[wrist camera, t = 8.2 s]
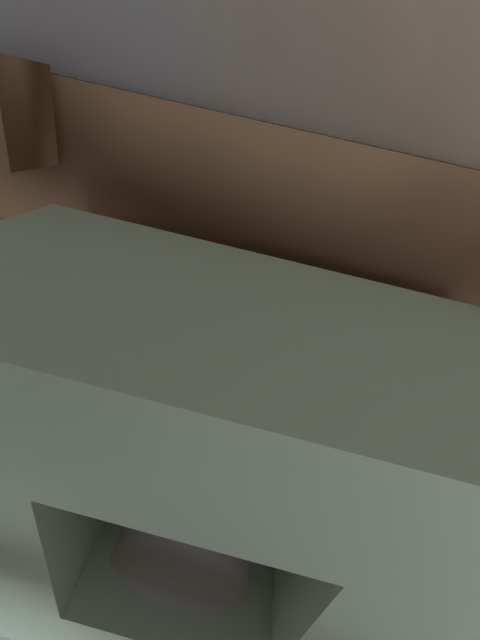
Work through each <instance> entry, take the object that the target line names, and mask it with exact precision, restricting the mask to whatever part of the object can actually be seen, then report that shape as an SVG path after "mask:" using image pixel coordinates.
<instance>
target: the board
mask: <svg viewBox="0 0 480 640" xmlns="http://www.w3.org/2000/svg"><path fill="white" fill-rule="evenodd" d="M52 204H56V205H61V206H65V207H69V208H73V209H77V210H81V211H85V212H90V213H94V214H98V215H102V216H106V217H110V218H114V219H119V220H123V221H127V222H131V223H135V224H139V225H143V226H148V227H152V228H156V229H160V230H164V231H168V232H172V233H177V234H181V235H185V236H189V237H193V238H197V239H202V240H206V241H210V242H214V243H218V244H222V245H226V246H231V247H235V248H239V249H243V250H247V251H251V252H255V253H260V254H264V255H268V256H272V257H276V258H280V259H284V260H289V261H293V262H297V263H301V264H305V265H309V266H314V267H318V268H322V269H326V270H330V271H334V272H338V273H343V274H347V275H351V276H355V277H359V278H363V279H367V280H372V281H376V282H380V283H384V284H388V285H392V286H396V287H401V288H405V289H409V290H413V291H417V292H421V293H425V294H430V295H434V296H438V297H442V298H446V299H450V300H455V301H459V302H463V303H467V304H471V305H475V306H479V307H480V170H477V169H472V168H468V167H463V166H459V165H455V164H450V163H446V162H441V161H437V160H432V159H428V158H424V157H419V156H415V155H410V154H406V153H401V152H397V151H393V150H388V149H384V148H379V147H375V146H370V145H366V144H362V143H357V142H353V141H348V140H344V139H339V138H335V137H330V136H326V135H322V134H317V133H313V132H308V131H304V130H299V129H295V128H291V127H286V126H282V125H277V124H273V123H268V122H264V121H260V120H255V119H251V118H246V117H242V116H237V115H233V114H229V113H224V112H220V111H215V110H211V109H206V108H202V107H198V106H193V105H189V104H184V103H180V102H175V101H171V100H167V99H162V98H158V97H153V96H149V95H144V94H140V93H136V92H131V91H127V90H122V89H118V88H113V87H109V86H105V85H100V84H96V83H91V82H87V81H82V80H78V79H74V78H69V77H65V76H60V75H56V74H51V73H50V65H48V64H44V63H39V62H35V61H31V60H26V59H22V58H18V57H13V56H9V55H5V54H0V214H1V219H2V220H6V219H9V218H12V217H15V216H18V215H21V214H24V213H27V212H30V211H33V210H36V209H40V208H43V207H46V206H49V205H52ZM110 561H111V565H112V568H113V570H114V571H115V573H116V574H117V576H118V577H119V578H120V579H121V580H122V581H123V582H124V583H126V584H127V585H128V586H130V587H131V588H133V589H134V590H136V591H137V592H139V593H141V594H143V595H145V596H147V597H149V598H151V599H153V600H156V601H158V602H161V603H164V604H167V605H170V606H174V607H178V608H182V609H187V610H194V611H210V612H212V611H223V610H228V609H231V608H234V607H236V606H238V605H240V604H241V603H242V602H243V601H244V600H245V598H246V596H247V590H248V582H249V573H250V564H251V561H248V560H244V559H240V558H237V557H233V556H229V555H226V554H222V553H219V552H215V551H211V550H208V549H204V548H200V547H197V546H193V545H189V544H186V543H182V542H179V541H175V540H171V539H168V538H164V537H160V536H157V535H153V534H149V533H146V532H142V531H138V530H135V529H131V528H128V527H124V528H123V530H122V532H121V534H120V537H119V539H118V541H117V544H116V546H115V548H114V550H113V553H112V555H111V560H110Z"/></svg>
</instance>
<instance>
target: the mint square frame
mask: <svg viewBox="0 0 480 640" xmlns="http://www.w3.org/2000/svg"><path fill="white" fill-rule="evenodd" d="M124 527H128V528H131V529H135V530H138V531H142V532H146V533H149V534H153V535H157V536H160V537H164V538H168V539H171V540H175V541H179V542H182V543H186V544H189V545H193V546H197V547H200V548H204V549H208V550H211V551H215V552H219V553H222V554H226V555H229V556H233V557H237V558H240V559H244V560H248V561H251V564H250V573H249V582H248V590H247V596H246V598H245V600H244V601H243V602H242V603H241V604H240V605H238V606H236V607H234V608H231V609H228V610H223V611H212V612H210V611H194V610H187V609H182V608H178V607H174V606H170V605H167V604H164V603H161V602H158V601H156V600H153V599H151V598H149V597H147V596H145V595H143V594H141V593H139V592H137V591H136V590H134V589H133V588H131V587H130V586H128V585H127V584H126V583H124V582H123V581H122V580H121V579H120V578H119V577H118V576H117V574H116V573H115V571H114V570H113V568H112V565H111V561H110V560H111V555H112V553H113V550H114V548H115V546H116V544H117V541H118V539H119V537H120V534H121V532H122V530H123V528H124ZM0 636H3V637H6V638H9V639H13V640H480V307H479V306H475V305H471V304H467V303H463V302H459V301H455V300H450V299H446V298H442V297H438V296H434V295H430V294H425V293H421V292H417V291H413V290H409V289H405V288H401V287H396V286H392V285H388V284H384V283H380V282H376V281H372V280H367V279H363V278H359V277H355V276H351V275H347V274H343V273H338V272H334V271H330V270H326V269H322V268H318V267H314V266H309V265H305V264H301V263H297V262H293V261H289V260H284V259H280V258H276V257H272V256H268V255H264V254H260V253H255V252H251V251H247V250H243V249H239V248H235V247H231V246H226V245H222V244H218V243H214V242H210V241H206V240H202V239H197V238H193V237H189V236H185V235H181V234H177V233H172V232H168V231H164V230H160V229H156V228H152V227H148V226H143V225H139V224H135V223H131V222H127V221H123V220H119V219H114V218H110V217H106V216H102V215H98V214H94V213H90V212H85V211H81V210H77V209H73V208H69V207H65V206H61V205H56V204H52V205H49V206H46V207H43V208H40V209H36V210H33V211H30V212H27V213H24V214H21V215H18V216H15V217H12V218H9V219H6V220H2V221H0Z"/></svg>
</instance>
